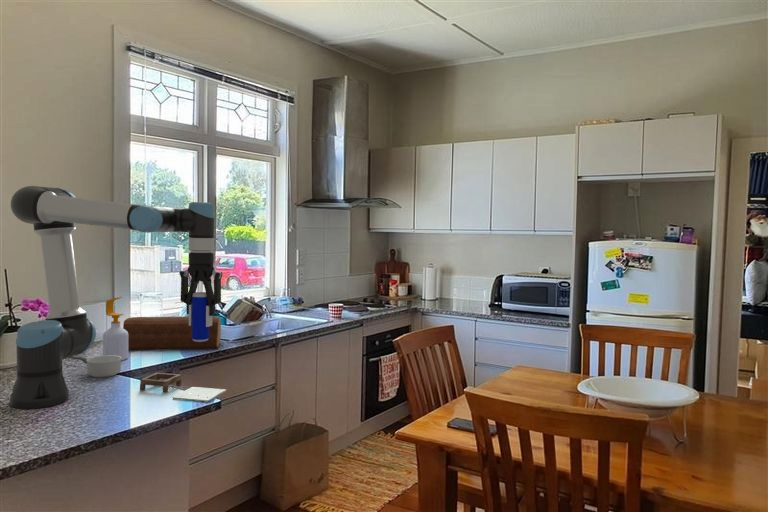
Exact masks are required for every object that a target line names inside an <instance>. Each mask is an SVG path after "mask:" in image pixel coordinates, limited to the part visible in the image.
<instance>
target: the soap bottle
mask: <svg viewBox="0 0 768 512" xmlns="http://www.w3.org/2000/svg"><path fill="white" fill-rule="evenodd" d="M122 298H123V297H122V296H120V297H119V296H118V297H114V298H111V299H107V300H106V302H105V314H106V316H107V317H108V316H109V317H111V318H112V319H113V320H111V321H110V327H109V328H108V329H106V330H105V331H104V332H103V334H102V356H106V355H114V356H120V357H122V359H121V361H125V360H128V358H129V350H128V332H127V331H126V330H125V329H123V327H121V321H120V320H119V318H120V317H122V316H123V315H124V313H116V312H115V311H114V307H115V306H114V305H115V304H114V303H115V301H116V300H118V299H122Z"/></svg>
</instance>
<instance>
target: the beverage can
mask: <svg viewBox="0 0 768 512" xmlns="http://www.w3.org/2000/svg"><path fill="white" fill-rule="evenodd" d="M206 306H208V300H207V296H206V291H204V292H202V291H196V292H195V293H193V295H192V340H193V341H196V342H203V341H207V340H208V339H209V327H206Z"/></svg>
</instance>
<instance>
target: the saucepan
mask: <svg viewBox="0 0 768 512" xmlns="http://www.w3.org/2000/svg"><path fill="white" fill-rule="evenodd" d="M68 359H72V360H78V361H82V362H83V363H84V364H85V365H87V366H86V368H87V370H86V371H87V372H86V373H87V375H89V376H91V377H93V378H106V377H107V378H108V377H113V376H115V375H117V374H119V373H121V372H122V369H121V367H122V366H121V365H122V360H121V359H122V357H120V356H114V355H106V356H103V355H96V356H92V357H89V358H87V357H83V356H77V355H74V356H71V357H68Z"/></svg>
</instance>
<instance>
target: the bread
mask: <svg viewBox="0 0 768 512" xmlns="http://www.w3.org/2000/svg"><path fill="white" fill-rule="evenodd" d="M221 324H222V323H221V317H220V316H212V326H209V339H208V340H207V341H203V342H196V341H193V340H192V326H189V315H187V316H173V315H172V316H136V317H135V316H133V317H128V318H126V319H124V321H123V325H122V328H123V329H125V330H126V331H127V332H128V351H141V350H143V351H144V350H145V351H151V350H152V351H153V350H156V351H157V350H197V349H198V350H200V349H201V350H202V349H203V350H205V349H208V350H209V349H218V348H219V345H220V344H221V339H222V338H221V334H222V333H221V330H222V329H221V327H222V325H221Z"/></svg>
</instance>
